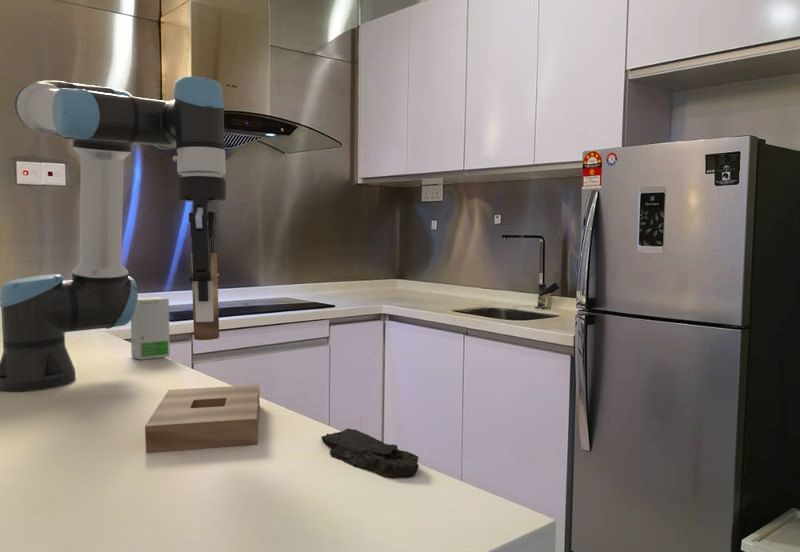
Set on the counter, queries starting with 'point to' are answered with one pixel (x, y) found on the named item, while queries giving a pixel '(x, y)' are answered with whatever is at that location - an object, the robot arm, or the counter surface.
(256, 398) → the seat board
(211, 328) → the oak dowel
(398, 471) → the black flat rough slab
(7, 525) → the counter surface
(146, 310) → the skincare box
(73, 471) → the counter surface
